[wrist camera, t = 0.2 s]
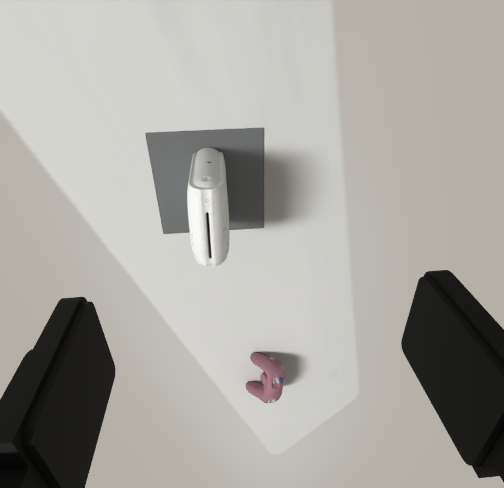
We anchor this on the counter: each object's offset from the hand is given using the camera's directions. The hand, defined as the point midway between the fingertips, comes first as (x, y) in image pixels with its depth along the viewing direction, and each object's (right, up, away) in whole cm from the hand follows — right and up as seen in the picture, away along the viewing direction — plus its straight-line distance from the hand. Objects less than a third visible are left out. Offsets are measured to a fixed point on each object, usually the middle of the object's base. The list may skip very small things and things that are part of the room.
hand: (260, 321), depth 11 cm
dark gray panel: (-6, +10, +36) cm, 38 cm away
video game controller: (+2, -21, +58) cm, 62 cm away
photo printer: (-6, +10, +37) cm, 38 cm away
